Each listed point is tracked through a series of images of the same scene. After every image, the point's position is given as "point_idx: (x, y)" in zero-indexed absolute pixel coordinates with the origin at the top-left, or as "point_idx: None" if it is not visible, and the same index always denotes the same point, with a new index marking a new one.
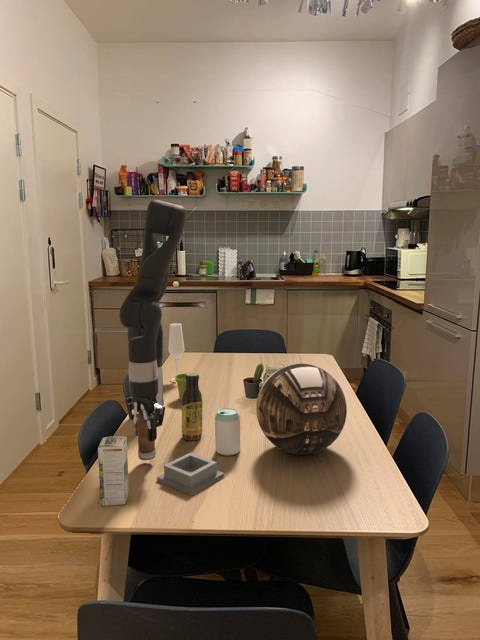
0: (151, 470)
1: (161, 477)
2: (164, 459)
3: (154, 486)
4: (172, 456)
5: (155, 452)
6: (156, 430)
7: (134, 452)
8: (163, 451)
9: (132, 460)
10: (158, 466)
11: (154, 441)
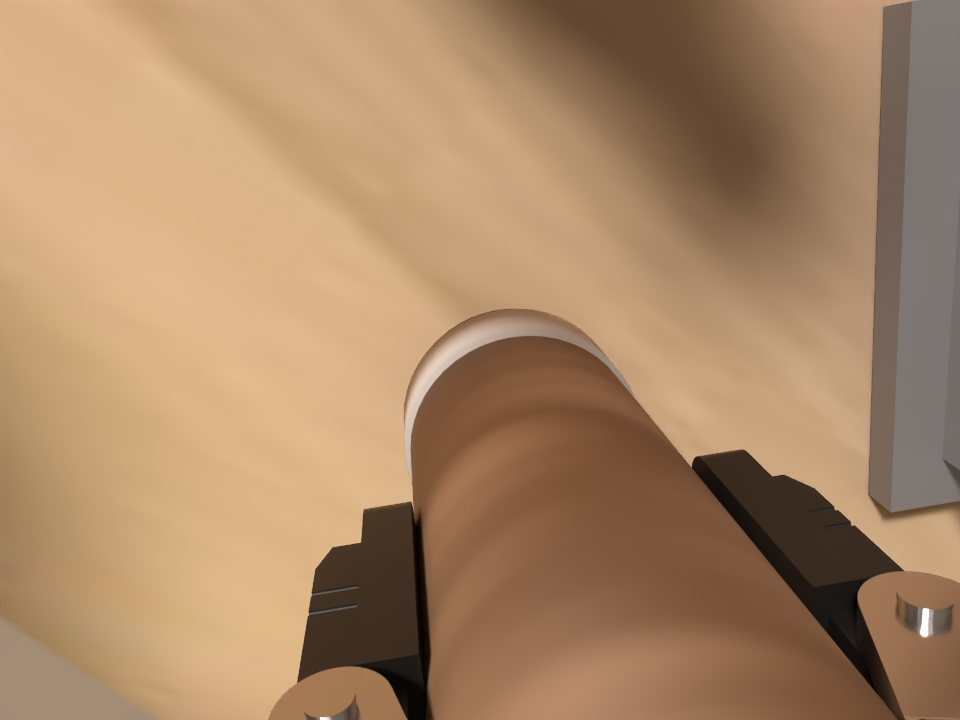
0: (662, 425)
1: (933, 487)
2: (553, 174)
3: (921, 557)
4: (557, 45)
5: (593, 342)
6: (889, 561)
7: (121, 333)
8: (345, 38)
9: (312, 453)
10: (645, 325)
11: (646, 414)
